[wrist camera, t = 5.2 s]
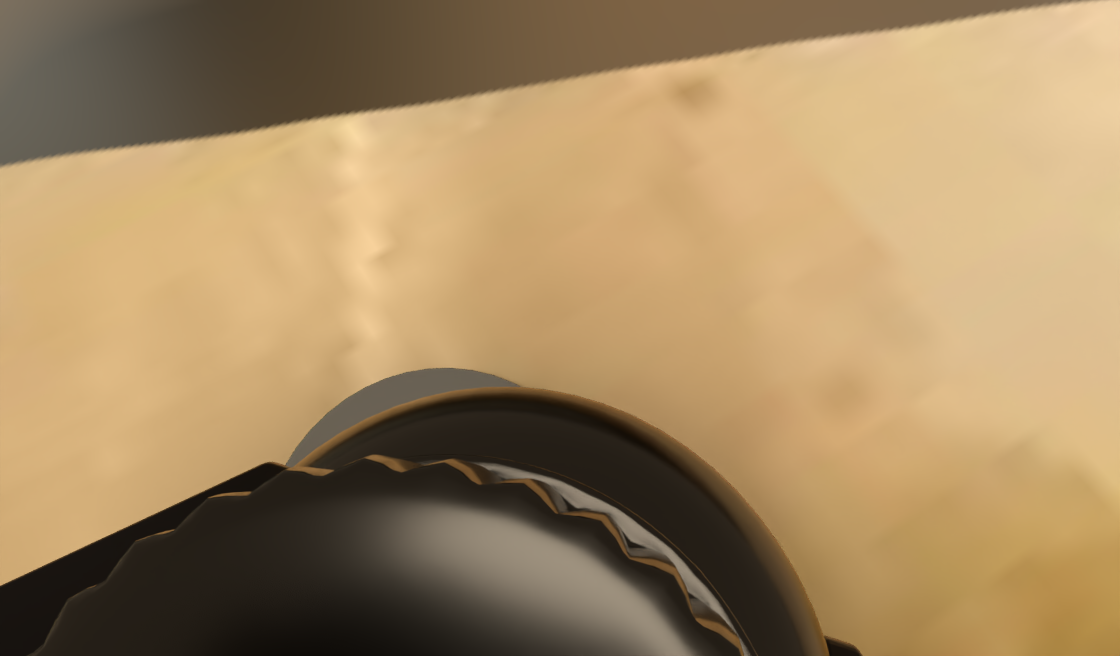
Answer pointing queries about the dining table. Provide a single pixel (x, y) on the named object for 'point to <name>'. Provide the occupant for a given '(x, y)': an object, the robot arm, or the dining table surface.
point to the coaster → (390, 401)
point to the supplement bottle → (462, 549)
